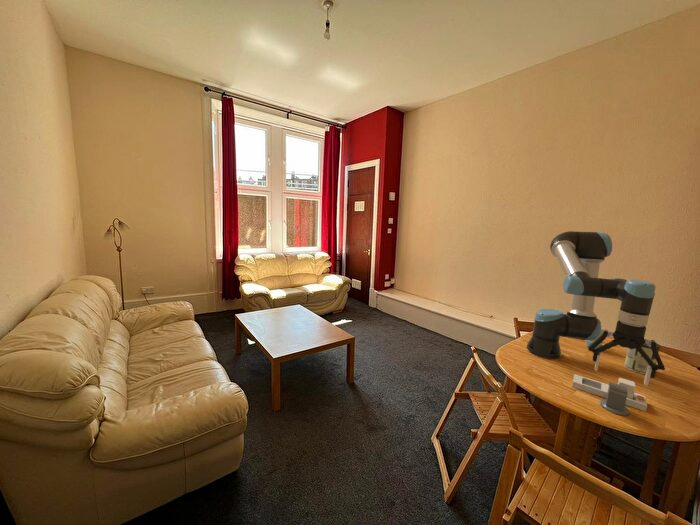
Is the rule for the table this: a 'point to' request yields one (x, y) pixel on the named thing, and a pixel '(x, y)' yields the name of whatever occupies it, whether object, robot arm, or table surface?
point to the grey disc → (603, 404)
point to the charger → (616, 396)
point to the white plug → (628, 387)
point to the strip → (602, 390)
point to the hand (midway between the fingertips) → (619, 376)
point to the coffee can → (639, 359)
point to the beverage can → (594, 340)
